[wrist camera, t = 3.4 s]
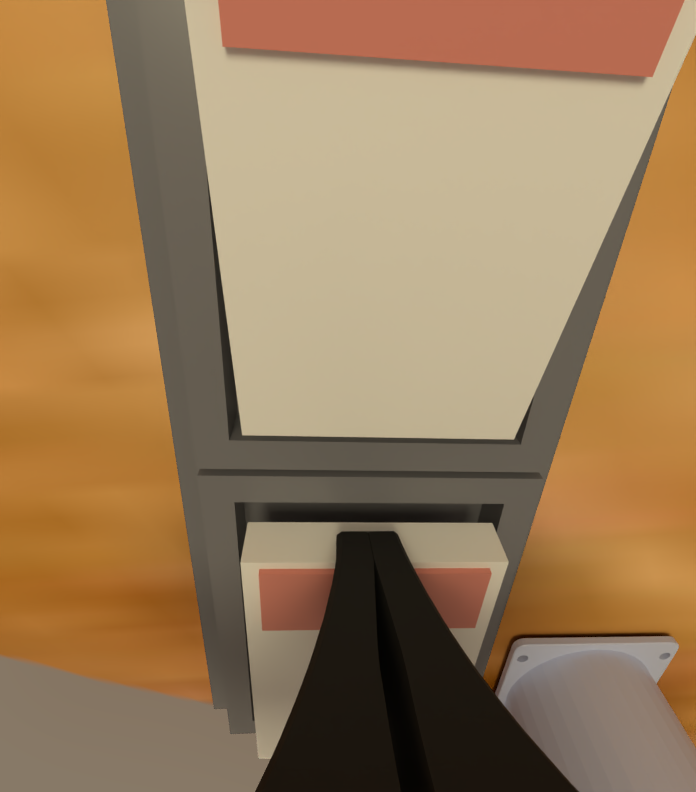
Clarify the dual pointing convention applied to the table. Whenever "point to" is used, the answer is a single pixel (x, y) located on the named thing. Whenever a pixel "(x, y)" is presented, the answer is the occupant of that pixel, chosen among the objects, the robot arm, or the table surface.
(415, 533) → the rocker far
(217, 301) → the switch box
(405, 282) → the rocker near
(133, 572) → the table surface
